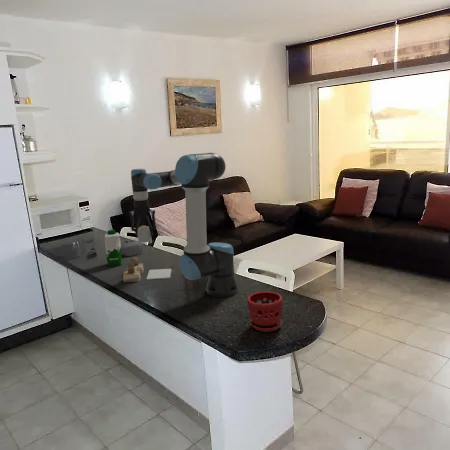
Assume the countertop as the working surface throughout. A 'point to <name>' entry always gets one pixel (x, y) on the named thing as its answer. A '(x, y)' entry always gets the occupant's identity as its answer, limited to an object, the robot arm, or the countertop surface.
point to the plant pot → (265, 311)
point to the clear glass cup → (143, 234)
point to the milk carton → (113, 248)
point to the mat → (159, 274)
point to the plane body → (133, 271)
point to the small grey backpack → (130, 248)
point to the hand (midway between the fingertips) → (145, 243)
